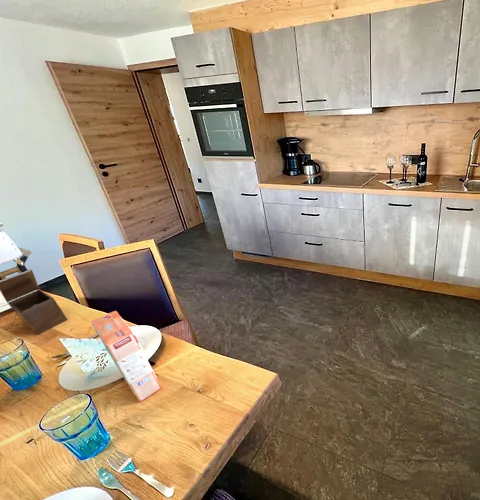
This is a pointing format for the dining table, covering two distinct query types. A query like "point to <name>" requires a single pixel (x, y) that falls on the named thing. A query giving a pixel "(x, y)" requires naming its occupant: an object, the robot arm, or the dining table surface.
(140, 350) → the cracker box
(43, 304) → the chest
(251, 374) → the dining table surface
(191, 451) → the dining table surface
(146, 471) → the dining table surface
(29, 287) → the lid
